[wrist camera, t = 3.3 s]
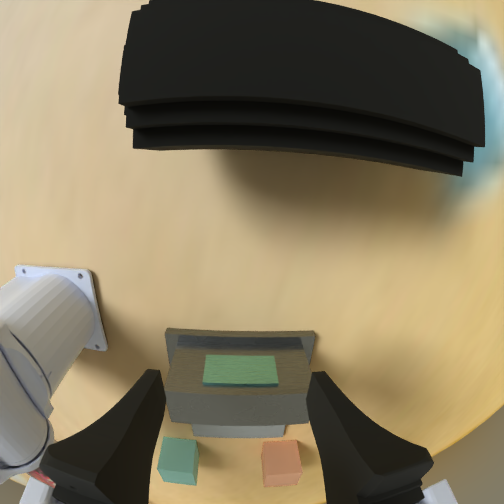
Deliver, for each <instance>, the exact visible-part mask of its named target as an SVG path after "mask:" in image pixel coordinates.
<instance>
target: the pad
mask: <svg viewBox="0 0 504 504" xmlns="http://www.w3.org/2000/svg"><path fill="white" fill-rule="evenodd" d="M284 429H285V425H273V426H218V425H200V424H192V430H193V434H194V436H200V437H217V438H273V437H283V434H284Z"/></svg>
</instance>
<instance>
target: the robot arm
mask: <svg viewBox="0 0 504 504" xmlns="http://www.w3.org/2000/svg"><path fill="white" fill-rule="evenodd" d="M15 273H16V277H14V278H13V279H12V280H10V281H9V282H7V283H6V284H4V285H3V286H2V287H0V484H2V483H4V482H5V481H6V480H7V479H9V478H10V477H12V476H14V475H17V474H22V473H27V472H30V471H33V470H35V469H36V468H38V467H40V469H41V470H42V471H43V473H44V474H46V475H47V476H48V477H49V478H50V479H51V480H52V481H53V482H54V483H55V484H56V485H55V488H53V487H51V486H49V485H48V484H46V483H44V482H42V481H40V480H38V479H36V478H34V477H30V479H29V481H28V483H27V486H26V488H25V491H24V493H23V496H22V498H21V501H20V503H19V504H148V500H149V484H150V474H151V466H152V458H153V453H154V449H155V446H156V442H157V438H158V435H159V431H160V428H161V424H162V421H163V417H164V411H165V405H166V395H165V391H164V386H163V382H162V378H161V373H160V370H152V369H147V370H146V371H145V373H144V374H143V375H142V376H141V377H140V379H139V380H138V381H137V382H136V383H135V384H134V386H133V387H132V388H131V389H130V390H129V391H128V392H127V393H126V395H125V396H124V397H123V398H122V399H121V400H120V401H119V402H118V403H117V404H116V405H115V406H114V407H113V408H111V409H110V410H109V411H108V412H107V413H106V414H105V415H103V416H102V417H101V418H100V419H98V420H97V421H95V422H94V423H93V424H91V425H90V426H88V427H87V428H85V429H84V430H82V431H80V432H78V433H76V434H74V435H73V436H71V437H68V438H66V439H64V440H61V441H59V442H56V443H54V431H53V427H52V425H51V423H50V421H49V420H48V418H49V416H50V415H51V413H52V411H53V409H54V408H53V406H52V405H51V403H50V399H51V397H52V396H53V394H54V392H55V391H56V389H57V387H58V386H59V384H60V383H61V381H62V380H63V378H64V376H65V375H66V373H67V372H68V370H69V369H70V367H71V366H72V364H73V363H74V361H75V360H76V358H77V357H78V355H79V354H80V352H81V351H82V350H83V348H87V349H92V350H98V351H106V350H107V349H108V344H107V341H106V337H105V333H104V330H103V326H102V322H101V317H100V313H99V309H98V304H97V299H96V295H95V289H94V284H93V279H92V274H91V272H90V271H89V270H87V269H74V268H59V267H45V266H32V265H19V264H18V265H16V266H15ZM80 274H82V276H83V277H81V276H80ZM98 345H99V346H98ZM306 405H307V411H308V417H309V421H310V424H311V427H312V431H313V434H314V437H315V440H316V444H317V447H318V450H319V454H320V458H321V464H322V470H323V476H324V483H325V492H326V501H327V504H458V503H457V501H456V499H455V496H454V494H453V492H452V490H451V488H450V486H449V484H448V482H447V480H446V479H443V480H441V481H439V482H437V483H435V484H433V485H431V486H429V487H427V488H425V489H424V490H421V488H420V486H421V485H422V481H421V478H422V477H423V476H424V475H425V474H426V473H427V472H428V471H429V470H430V469H431V468H432V466H433V464H434V462H433V460H432V458H431V456H430V454H429V452H428V450H427V449H426V448H424V447H421V446H418V445H416V444H413V443H410V442H408V441H406V440H404V439H402V438H400V437H398V436H396V435H394V434H392V433H391V432H389V431H387V430H386V429H384V428H382V427H381V426H379V425H378V424H376V423H375V422H374V421H372V420H371V419H370V418H369V417H367V416H366V415H365V414H364V413H363V412H362V411H360V410H359V409H358V408H357V407H356V406H355V405H354V404H353V403H352V402H351V401H350V400H349V399H348V398H347V397H346V396H345V395H344V393H343V392H342V391H341V390H340V389H339V388H338V387H337V385H336V384H335V383H334V382H333V381H332V380H331V378H330V377H329V376H328V375H327V373H326V372H325V371H321V372H312V375H311V380H310V384H309V388H308V392H307V397H306Z"/></svg>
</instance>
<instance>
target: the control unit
mask: <svg viewBox="0 0 504 504" xmlns="http://www.w3.org/2000/svg"><path fill="white" fill-rule="evenodd" d="M165 338H166V345H167V351H168V357H169V363H170V369H169V373H168V376H167V380H166V383H165V387H164V391H165V395H166V403H167V407H168V410H169V414H170V418H171V422H178V423H188V424H200V425H218V426H273V425H291V424H304V423H308V422H309V417H308V411H307V405H306V397H307V392H308V388H309V384H310V380H311V375H312V373H311V370H310V367H309V365H310V360H311V355H312V351H313V346H314V340H315V334H314V332H313V331H276V332H254V331H211V330H190V329H174V328H167V329H166V332H165Z"/></svg>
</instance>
